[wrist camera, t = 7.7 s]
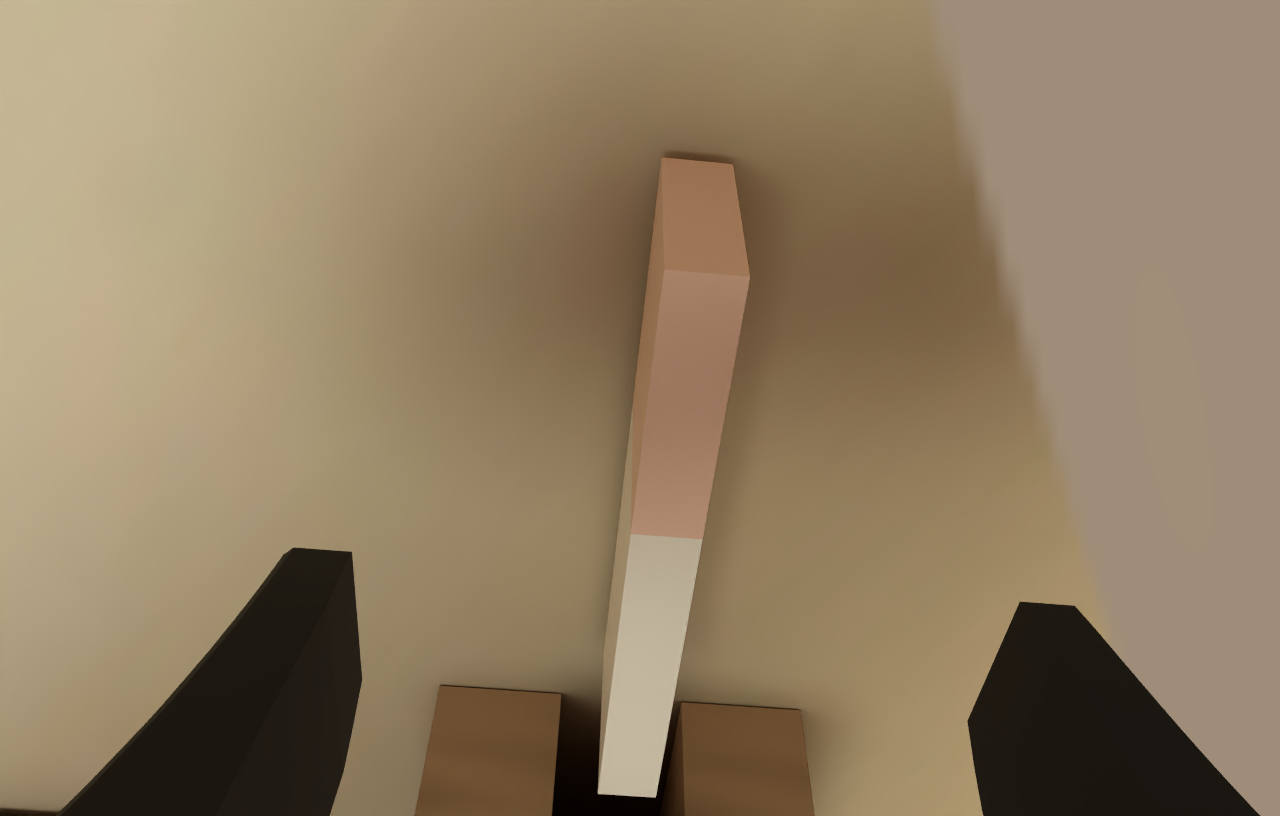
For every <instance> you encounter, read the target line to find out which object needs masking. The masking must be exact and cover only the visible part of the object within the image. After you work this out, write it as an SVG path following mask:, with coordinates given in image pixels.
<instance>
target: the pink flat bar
mask: <svg viewBox="0 0 1280 816" xmlns="http://www.w3.org/2000/svg"><path fill="white" fill-rule="evenodd" d="M749 281H750V272H749V266H748V259H747V253H746V246H745V240H744V233H743V227H742V220H741V214H740V207H739V200H738V194H737V187H736V181H735V174H734V168H733V164H726V163H715V162H705V161H694V160H684V159H673V158H663V157H662V158H661V167H660V175H659V184H658V192H657V201H656V209H655V218H654V226H653V235H652V243H651V252H650V261H649V269H648V278H647V286H646V295H645V303H644V312H643V320H642V329H641V337H640V346H639V354H638V363H637V372H636V380H635V389H634V397H633V406H632V414H631V423H630V431H629V440H628V448H627V457H626V466H625V474H624V483H623V491H622V500H621V508H620V517H619V525H618V534H617V542H616V551H615V559H614V568H613V577H612V585H611V594H610V602H609V611H608V619H607V628H606V636H605V645H604V658H603V682H602V705H601V729H600V753H599V776H598V794H607V795H623V796H639V797H655V798H656V794H657V788H658V783H659V777H660V772H661V766H662V761H663V755H664V750H665V744H666V739H667V733H668V728H669V722H670V717H671V711H672V706H673V700H674V695H675V689H676V684H677V678H678V673H679V667H680V662H681V656H682V651H683V645H684V640H685V634H686V629H687V623H688V617H689V612H690V606H691V601H692V595H693V590H694V584H695V579H696V573H697V568H698V562H699V557H700V551H701V546H702V540H703V535H704V529H705V524H706V518H707V513H708V507H709V502H710V496H711V491H712V485H713V480H714V474H715V469H716V463H717V458H718V452H719V447H720V441H721V436H722V430H723V425H724V419H725V413H726V408H727V402H728V397H729V391H730V386H731V380H732V375H733V369H734V364H735V358H736V353H737V347H738V342H739V336H740V331H741V325H742V320H743V314H744V309H745V303H746V298H747V292H748V287H749Z"/></svg>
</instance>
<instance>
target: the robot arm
mask: <svg viewBox="0 0 1280 816" xmlns="http://www.w3.org/2000/svg"><path fill="white" fill-rule="evenodd" d="M361 683H362V673H361V660H360V648H359V635H358V623H357V610H356V598H355V585H354V573H353V560H352V552H345V551H332V550H318V549H305V548H292V549H291V550H290V551H288V552H287V553H285V554H284V555H283V556H282V558H281V559H280V560H279V562H278V563H277V564H276V566H275V567H274V569H273V570H272V571H271V573H270V574H269V575H268V577H267V578H266V579H265V581H264V582H263V583H262V585H261V586H260V587H259V589H258V590H257V591H256V593H255V594H254V595H253V597H252V598H251V599H250V601H249V602H248V603H247V604H246V606H245V607H244V608H243V610H242V611H241V612H240V613H239V615H238V616H237V617H236V618H235V620H234V621H233V622H232V623H231V625H230V626H229V627H228V628H227V630H226V631H225V632H224V633H223V634H222V636H221V637H220V638H219V639H218V641H217V642H216V643H215V644H214V646H213V647H212V648H211V649H210V650H209V652H208V653H207V654H206V655H205V656H204V657H203V659H202V660H201V661H200V662H199V663H198V664H197V666H196V667H195V668H194V669H193V670H192V671H191V673H190V674H189V675H188V676H187V677H186V678H185V679H184V681H183V682H182V683H181V684H180V685H179V686H178V688H177V689H176V690H175V691H174V692H173V693H172V695H171V696H170V697H169V698H168V699H167V700H166V701H165V703H164V704H163V705H162V706H161V707H160V708H159V709H158V711H157V712H156V713H155V714H154V715H153V716H152V717H151V718H150V719H149V720H148V722H147V723H146V724H145V725H144V726H143V727H142V728H141V729H140V730H139V731H138V732H137V733H136V734H135V735H134V736H133V737H132V738H131V739H130V740H129V741H128V742H127V744H126V745H125V746H124V747H123V748H122V749H121V750H120V751H119V752H118V753H117V754H116V755H115V756H114V757H113V758H112V759H111V760H110V761H109V762H108V763H107V765H106V766H105V767H104V768H103V769H102V770H101V771H100V772H99V773H98V774H97V775H96V776H95V777H94V778H93V779H92V780H91V781H90V782H89V783H88V784H87V785H86V786H85V787H84V788H83V789H82V790H81V791H80V792H79V793H78V794H77V795H76V796H75V797H74V798H73V799H72V800H71V801H70V802H69V803H68V804H67V805H66V806H65V807H64V808H63V809H62V810H61V811H60V812H59V813H58V814H57V815H56V816H329V815H330V812H331V809H332V806H333V803H334V800H335V797H336V794H337V790H338V787H339V784H340V781H341V777H342V774H343V771H344V767H345V762H346V757H347V752H348V748H349V743H350V738H351V733H352V729H353V723H354V718H355V713H356V708H357V703H358V698H359V693H360V688H361ZM968 727H969V734H970V741H971V747H972V754H973V761H974V767H975V773H976V779H977V784H978V790H979V795H980V801H981V807H982V812H983V815H984V816H1260V815H1259V814H1258V813H1257V812H1256V811H1255V810H1254V809H1253V808H1252V807H1251V806H1250V805H1249V804H1248V803H1247V801H1246V800H1245V799H1244V798H1243V797H1242V796H1241V795H1240V794H1239V793H1238V792H1237V791H1236V790H1235V789H1234V788H1233V786H1232V785H1231V784H1230V783H1229V782H1228V781H1227V780H1226V779H1225V778H1224V777H1223V776H1222V774H1221V773H1220V772H1219V771H1218V770H1217V769H1216V768H1215V767H1214V766H1213V765H1212V763H1211V762H1210V761H1209V760H1208V759H1207V758H1206V757H1205V756H1204V755H1203V753H1202V752H1201V751H1200V750H1199V749H1198V748H1197V747H1196V746H1195V744H1194V743H1193V742H1192V741H1191V740H1190V739H1189V738H1188V737H1187V735H1186V734H1185V733H1184V732H1183V731H1182V730H1181V729H1180V727H1179V726H1178V725H1177V724H1176V723H1175V722H1174V721H1173V719H1172V718H1171V717H1170V716H1169V715H1168V714H1167V713H1166V711H1165V710H1164V709H1163V708H1162V707H1161V706H1160V704H1159V703H1158V702H1157V701H1156V700H1155V699H1154V697H1153V696H1152V695H1151V694H1150V693H1149V692H1148V690H1147V689H1146V688H1145V687H1144V686H1143V685H1142V683H1141V682H1140V681H1139V680H1138V679H1137V678H1136V676H1135V675H1134V674H1133V673H1132V672H1131V670H1130V669H1129V668H1128V667H1127V666H1126V665H1125V663H1124V662H1123V661H1122V660H1121V659H1120V658H1119V656H1118V655H1117V654H1116V653H1115V652H1114V650H1113V649H1112V648H1111V647H1110V646H1109V645H1108V643H1107V642H1106V641H1105V640H1104V639H1103V638H1102V636H1101V635H1100V634H1099V633H1098V632H1097V631H1096V629H1095V628H1094V627H1093V626H1092V625H1091V624H1090V623H1089V621H1088V620H1087V619H1086V618H1085V617H1084V616H1083V615H1082V614H1081V612H1080V611H1079V610H1078V609H1077V608H1076V607H1075V606H1070V605H1056V604H1043V603H1030V602H1020V603H1019V605H1018V607H1017V610H1016V612H1015V614H1014V617H1013V619H1012V621H1011V623H1010V626H1009V628H1008V630H1007V632H1006V635H1005V637H1004V639H1003V642H1002V644H1001V646H1000V648H999V651H998V653H997V655H996V657H995V660H994V662H993V664H992V667H991V669H990V671H989V673H988V676H987V678H986V680H985V682H984V685H983V687H982V689H981V692H980V694H979V696H978V698H977V701H976V703H975V705H974V707H973V710H972V712H971V714H970V717H969V719H968Z"/></svg>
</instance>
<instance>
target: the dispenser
mask: <svg viewBox="0 0 1280 816" xmlns="http://www.w3.org/2000/svg"><path fill="white" fill-rule="evenodd" d="M560 704H561V694H553V693H538V692H523V691H509V690H494V689H479V688H465V687H450V686H440V687H439V692H438V697H437V703H436V708H435V713H434V718H433V723H432V729H431V734H430V739H429V744H428V749H427V754H426V760H425V765H424V770H423V775H422V780H421V785H420V791H419V796H418V801H417V806H416V811H415V816H552V805H553V792H554V780H555V767H556V755H557V742H558V729H559V717H560ZM660 816H815V814H814V807H813V800H812V792H811V785H810V778H809V771H808V763H807V756H806V749H805V742H804V734H803V727H802V720H801V713H800V710H787V709H772V708H758V707H743V706H728V705H714V704H699V703H685V702H681V707H680V713H679V718H678V723H677V729H676V734H675V739H674V745H673V750H672V755H671V760H670V766H669V771H668V776H667V782H666V787H665V792H664V798H663V803H662V808H661V813H660Z"/></svg>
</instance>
